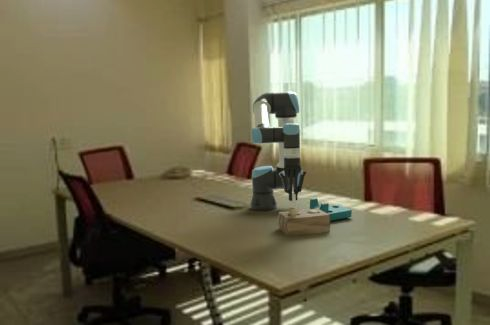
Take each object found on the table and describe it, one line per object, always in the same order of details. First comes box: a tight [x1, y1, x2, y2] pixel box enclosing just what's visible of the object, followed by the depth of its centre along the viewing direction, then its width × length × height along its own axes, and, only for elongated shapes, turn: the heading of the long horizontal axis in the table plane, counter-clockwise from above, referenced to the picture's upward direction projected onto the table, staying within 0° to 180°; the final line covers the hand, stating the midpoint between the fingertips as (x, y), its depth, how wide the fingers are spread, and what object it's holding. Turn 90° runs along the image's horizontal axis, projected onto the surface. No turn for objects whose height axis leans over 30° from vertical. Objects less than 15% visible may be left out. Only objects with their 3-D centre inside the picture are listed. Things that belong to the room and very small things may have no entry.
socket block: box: [278, 208, 331, 237], centre depth 248 cm, size 14×20×8 cm
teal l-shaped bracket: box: [309, 197, 353, 222], centre depth 267 cm, size 18×11×10 cm, turn 117°
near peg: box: [288, 206, 298, 216], centre depth 247 cm, size 4×4×8 cm
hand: (293, 207), depth 246 cm, fingers closed
